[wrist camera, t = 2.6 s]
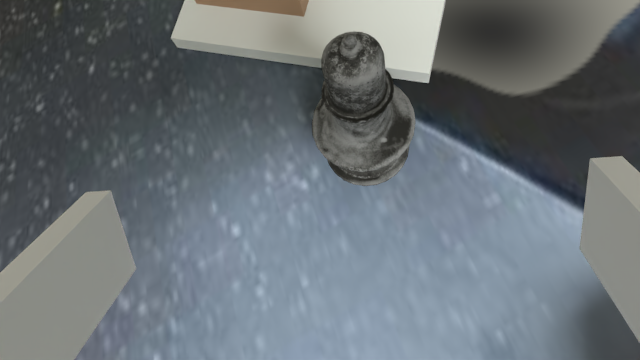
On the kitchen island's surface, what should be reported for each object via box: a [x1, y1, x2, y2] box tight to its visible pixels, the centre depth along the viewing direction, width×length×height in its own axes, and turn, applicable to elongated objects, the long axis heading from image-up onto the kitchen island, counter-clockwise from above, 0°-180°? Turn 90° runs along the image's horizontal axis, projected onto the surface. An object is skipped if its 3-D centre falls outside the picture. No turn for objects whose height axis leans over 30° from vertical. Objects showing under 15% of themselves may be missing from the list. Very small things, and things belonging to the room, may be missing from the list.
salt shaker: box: [312, 31, 415, 186], centre depth 27 cm, size 6×6×12 cm
